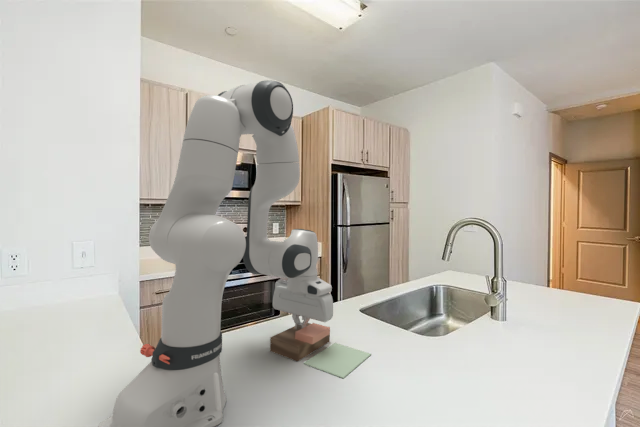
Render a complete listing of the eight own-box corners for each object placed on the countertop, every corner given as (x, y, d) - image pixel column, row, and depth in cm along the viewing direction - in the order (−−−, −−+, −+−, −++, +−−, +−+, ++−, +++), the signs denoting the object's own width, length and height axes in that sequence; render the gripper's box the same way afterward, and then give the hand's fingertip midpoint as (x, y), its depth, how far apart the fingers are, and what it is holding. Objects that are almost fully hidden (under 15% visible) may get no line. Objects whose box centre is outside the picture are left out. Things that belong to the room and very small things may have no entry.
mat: (343, 378, 76) (343, 377, 76) (303, 363, 82) (303, 362, 82) (371, 354, 89) (371, 353, 89) (335, 343, 96) (335, 342, 96)
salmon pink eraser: (312, 344, 85) (312, 337, 85) (295, 338, 88) (295, 331, 88) (329, 334, 93) (330, 327, 93) (313, 329, 96) (313, 322, 96)
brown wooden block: (297, 361, 83) (298, 346, 83) (269, 351, 89) (270, 337, 89) (329, 341, 97) (330, 329, 97) (303, 333, 102) (304, 321, 102)
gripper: (268, 279, 96) (267, 324, 96) (325, 291, 85) (323, 341, 85) (282, 276, 101) (280, 319, 101) (336, 286, 90) (335, 334, 90)
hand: (300, 329), depth 93 cm, fingers closed
